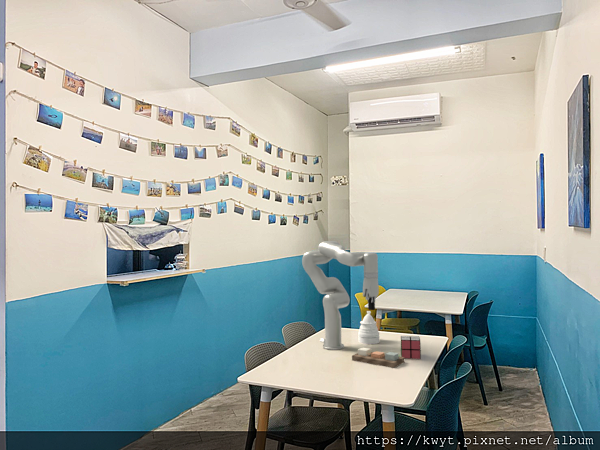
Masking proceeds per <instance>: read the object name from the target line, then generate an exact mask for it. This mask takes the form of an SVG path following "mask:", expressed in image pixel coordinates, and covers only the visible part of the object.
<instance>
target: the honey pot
mask: <svg viewBox="0 0 600 450" xmlns="http://www.w3.org/2000/svg"><path fill="white" fill-rule="evenodd" d="M371 311H372V310H366V314H365V316H364V317H363V319H362V320H361V321H360V322H359V323H360V324H359V325H360V326H359V329H358V333H357V335H358V336H357V339H358V343H360V344H365V345H373V344H378V343H380V332H379V329H378V326H377V321H375V318H374V317H373V316H372V315H371V313H372V312H371Z"/></svg>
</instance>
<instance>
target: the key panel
mask: <svg viewBox="0 0 600 450" xmlns="http://www.w3.org/2000/svg"><path fill="white" fill-rule="evenodd" d="M373 352H374V351H371V353H373ZM385 354H386V353H384V356H385ZM351 361H354V362H360V363H364V364H369V365H375V366H381V367H386V368H391V369H395V368H397V367H399V366H400V365H402V364H404V363H405V359H404V357H401V356H399V359H398V360H396V361H390V360H385V357H383V358H381V359H379V358H373V357H371V355H368V356H362V355H358V352H357V353H354V354H353V355H351Z"/></svg>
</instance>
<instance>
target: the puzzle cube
mask: <svg viewBox="0 0 600 450" xmlns="http://www.w3.org/2000/svg"><path fill="white" fill-rule="evenodd" d="M421 346H422V345H421V337H420V336H419V335H401V336H400V355H401V356H400V357H404V360H421V359H422V353H421V351H422V350H421V348H422V347H421Z"/></svg>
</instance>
